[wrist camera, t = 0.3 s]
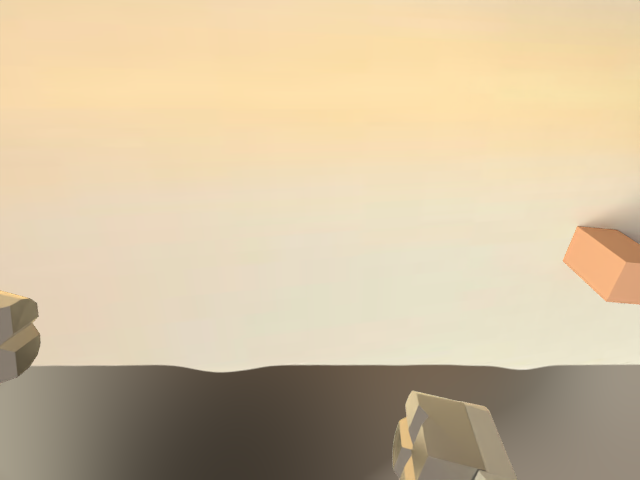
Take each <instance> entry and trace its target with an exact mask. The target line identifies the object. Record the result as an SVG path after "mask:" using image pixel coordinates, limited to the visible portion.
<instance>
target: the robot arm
mask: <svg viewBox="0 0 640 480" xmlns="http://www.w3.org/2000/svg"><path fill="white" fill-rule="evenodd" d="M38 316H39V315H38V308H37V303H36V302H35V301H33V300H32V299H30V298H27V297H23V296H19V295H16V294H12V293H8V292H4V291H1V290H0V384H1V383H3V382H5V381H8V380H11V379H14V378H17V377H18V376H20V375H21V374H22V373H23V372H24V371H25V370H27V369H28V368H29V367H30V365H31V364H32V362H33V361H34V359H35V358H36V356H37V355H38V351H39V347H40V333H39V332H38V330H37V329H36V327H35V326H34V325H33V322H34V321H35V320H36V319H37V318H38ZM405 407H406V415H407V417H405V418H403V419H402V420H400V421H399V423H398V427H397V429H396V432H395V437H394V443H393V456H392V458H393V459H392V460H393V470H394V472H395V473H396V474H397V476H398V477H399V480H517V478H516V475H515V472H514V470H513V468H512V465H511V463H510V460H509V458H508V455H507V453H506V451H505V448H504V446H503V443H502V441H501V438H500V436H499V434H498V431H497V428H496V426H495V424H494V421H493V419H492V416H491V414H490V411H489V410H488V409H487V408H486V407H485V406H480V405H476V404H471V403H466V402H462V401H461V402H458V401H454V400H450V399H446V398H441V397H437V396H433V395H429V394H425V393H420V392H416V391H412V392H411V393H410V395H409V397H408V399H407V402H406V404H405Z"/></svg>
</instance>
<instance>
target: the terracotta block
mask: <svg viewBox="0 0 640 480" xmlns="http://www.w3.org/2000/svg"><path fill="white" fill-rule="evenodd" d="M563 262H564V263H565V264H567V265H568V266H569V267H570V268H571V269H572V270H573V271H574V272H575V273H576V274H577V275H578V276H579V277H580V278H582V279H583V280H584V281H585V282H586V283H587V284H588V285H589V286H590V287H591V288H592V289H593V290H594V291H596V292H597V293H598V294H599V295H600V296H601V297H602V298H603V299H604V300H605V301H606V302H618V303H629V304H640V244H638V243H636V242H635V241H633V240H632V239H630V238H629V237H627V236H626V235H624V234H622V233H621V232H619V231H618V230H613V229H602V228H591V227H580V226H577V228H576V231H575V233H574V235H573V238H572V240H571V242H570V245H569V247H568V250H567V252H566V254H565V257H564V259H563Z"/></svg>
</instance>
